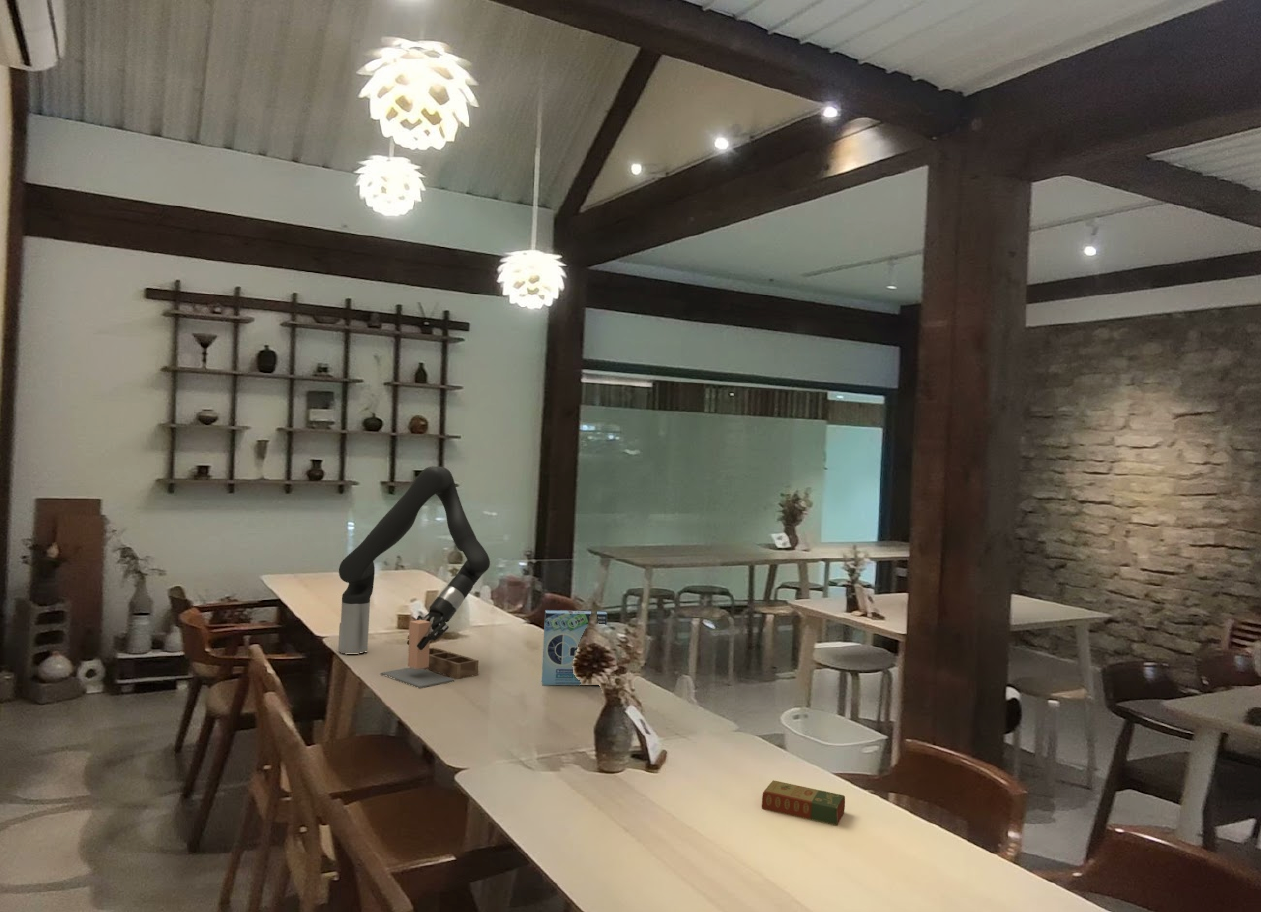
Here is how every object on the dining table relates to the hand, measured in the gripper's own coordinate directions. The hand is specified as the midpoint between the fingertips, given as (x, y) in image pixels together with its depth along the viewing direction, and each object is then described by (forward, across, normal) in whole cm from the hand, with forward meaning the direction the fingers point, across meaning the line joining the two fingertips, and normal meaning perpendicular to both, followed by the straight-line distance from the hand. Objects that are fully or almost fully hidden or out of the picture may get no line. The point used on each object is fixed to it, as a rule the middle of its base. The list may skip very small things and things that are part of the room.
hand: (414, 646), depth 279 cm
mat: (+6, 0, +8) cm, 10 cm away
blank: (+3, 0, +6) cm, 7 cm away
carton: (+7, +136, +9) cm, 136 cm away
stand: (-3, -3, +18) cm, 18 cm away
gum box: (-17, +35, +32) cm, 50 cm away
